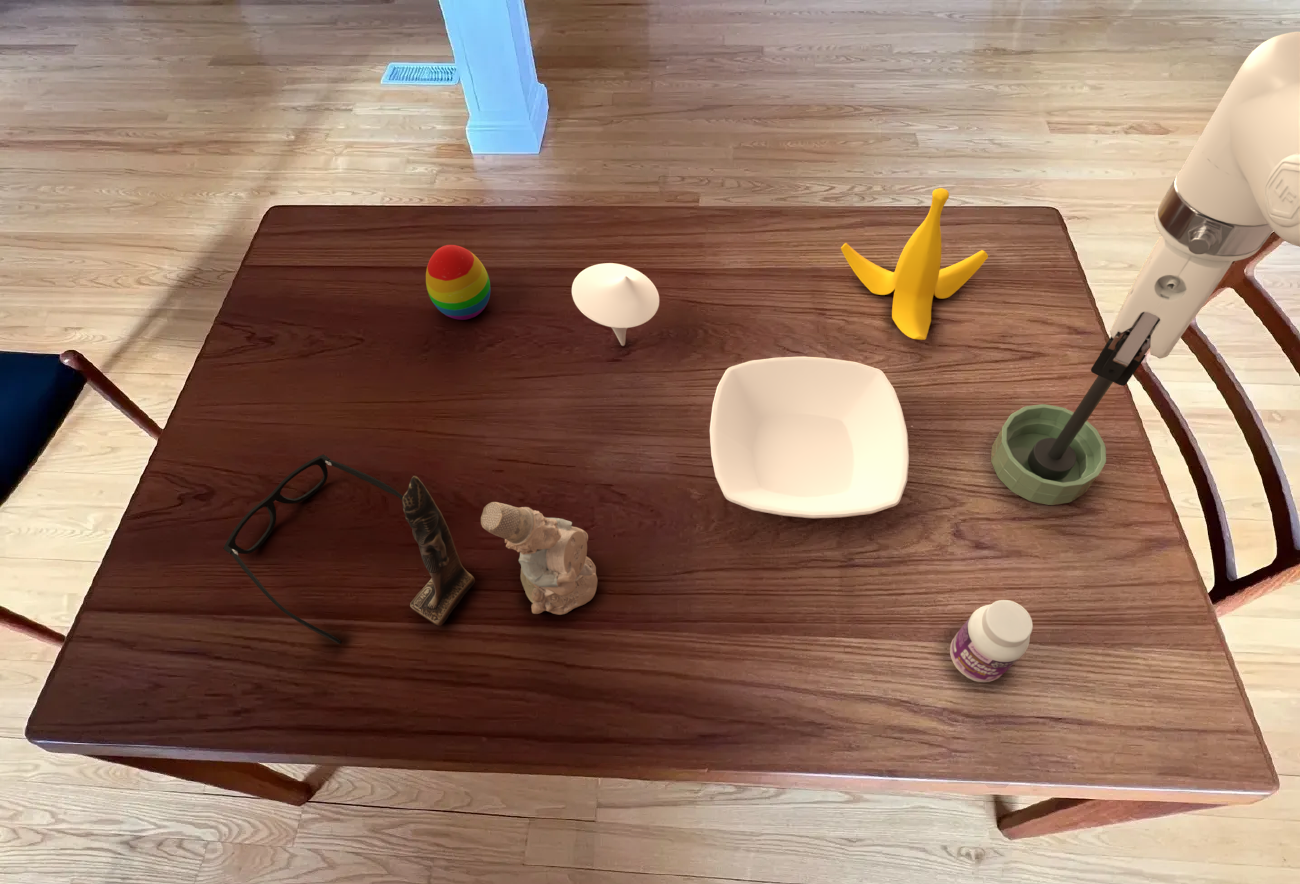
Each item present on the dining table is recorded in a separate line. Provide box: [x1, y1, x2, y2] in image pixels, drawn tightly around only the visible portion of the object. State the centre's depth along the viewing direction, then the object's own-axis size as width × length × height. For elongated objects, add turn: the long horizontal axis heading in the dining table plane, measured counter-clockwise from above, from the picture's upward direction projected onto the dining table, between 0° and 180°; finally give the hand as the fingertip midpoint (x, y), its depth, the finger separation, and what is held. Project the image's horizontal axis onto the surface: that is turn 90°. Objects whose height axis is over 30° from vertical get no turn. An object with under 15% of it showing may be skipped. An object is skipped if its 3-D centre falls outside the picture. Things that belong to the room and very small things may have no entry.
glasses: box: [223, 453, 404, 645], centre depth 86 cm, size 17×18×5 cm
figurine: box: [480, 501, 599, 616], centre depth 76 cm, size 9×8×20 cm
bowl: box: [709, 356, 910, 519], centre depth 89 cm, size 22×22×5 cm
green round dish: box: [990, 403, 1107, 506], centre depth 87 cm, size 11×11×4 cm
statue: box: [401, 475, 476, 627], centre depth 76 cm, size 4×7×20 cm, turn 149°
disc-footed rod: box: [1028, 335, 1128, 481], centre depth 79 cm, size 4×4×22 cm
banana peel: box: [840, 187, 989, 341], centre depth 97 cm, size 16×19×17 cm
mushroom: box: [571, 262, 660, 347], centre depth 98 cm, size 10×11×12 cm
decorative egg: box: [425, 244, 491, 321], centre depth 104 cm, size 8×8×10 cm
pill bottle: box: [949, 599, 1034, 683], centre depth 74 cm, size 5×5×10 cm
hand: (1112, 369), depth 74 cm, fingers closed on disc-footed rod, 1 cm apart
